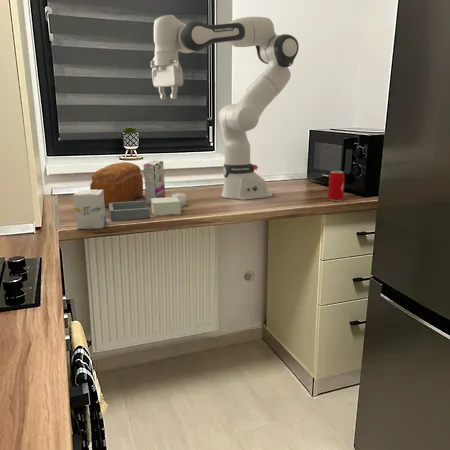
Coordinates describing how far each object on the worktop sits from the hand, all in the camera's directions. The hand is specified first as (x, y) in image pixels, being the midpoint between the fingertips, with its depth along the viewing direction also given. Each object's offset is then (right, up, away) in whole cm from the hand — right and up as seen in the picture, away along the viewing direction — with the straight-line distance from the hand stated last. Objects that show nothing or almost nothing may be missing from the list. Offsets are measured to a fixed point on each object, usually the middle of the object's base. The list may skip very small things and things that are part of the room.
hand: (168, 99), depth 175 cm
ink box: (-23, -50, -23) cm, 59 cm away
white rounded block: (+3, -41, +6) cm, 42 cm away
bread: (-23, -39, +15) cm, 48 cm away
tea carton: (0, -45, -5) cm, 45 cm away
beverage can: (+68, -39, +12) cm, 80 cm away
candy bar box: (-7, -40, +13) cm, 42 cm away
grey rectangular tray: (-13, -45, -9) cm, 48 cm away
